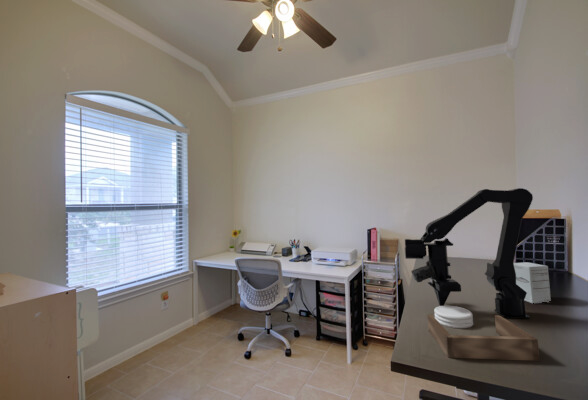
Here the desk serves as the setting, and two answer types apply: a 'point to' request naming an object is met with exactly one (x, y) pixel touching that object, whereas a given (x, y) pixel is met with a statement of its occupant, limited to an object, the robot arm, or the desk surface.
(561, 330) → the desk surface
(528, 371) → the desk surface
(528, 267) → the supplement box
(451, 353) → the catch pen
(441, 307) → the coaster
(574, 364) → the desk surface
